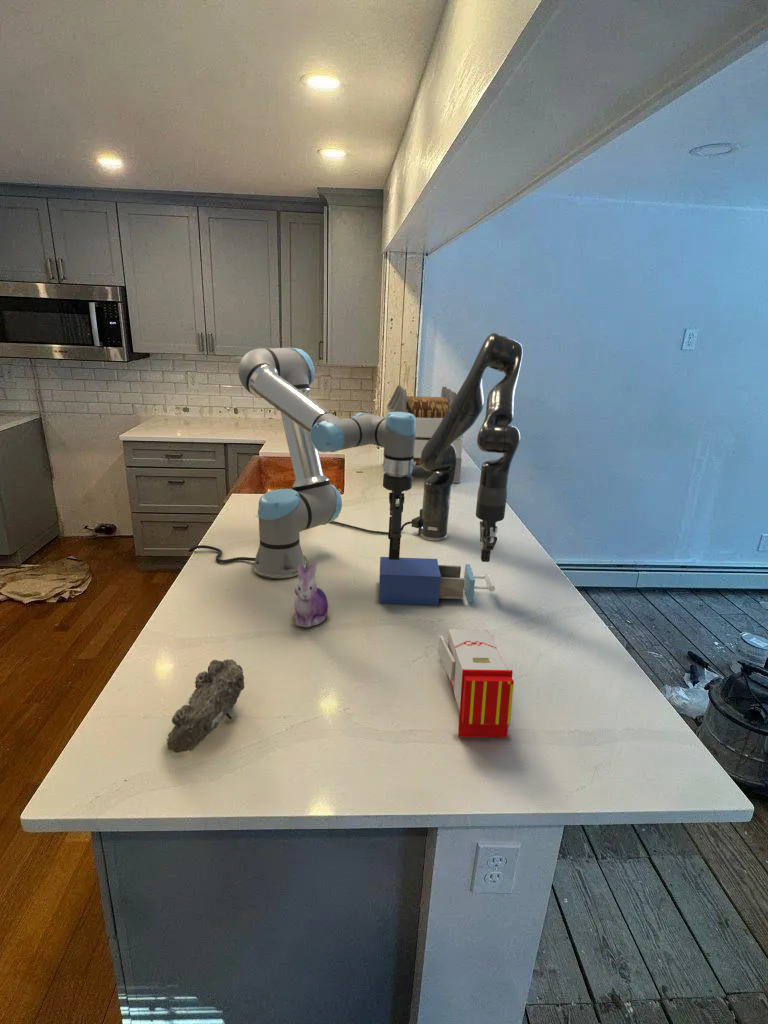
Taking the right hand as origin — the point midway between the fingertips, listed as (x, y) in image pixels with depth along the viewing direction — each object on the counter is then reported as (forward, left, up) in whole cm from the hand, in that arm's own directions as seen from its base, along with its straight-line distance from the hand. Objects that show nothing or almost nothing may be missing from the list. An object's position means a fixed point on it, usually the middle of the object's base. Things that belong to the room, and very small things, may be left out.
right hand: (484, 560), depth 155 cm
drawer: (-6, -4, -10) cm, 13 cm away
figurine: (-28, -39, -11) cm, 49 cm away
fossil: (-18, -78, -11) cm, 80 cm away
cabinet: (-17, -12, -11) cm, 23 cm away
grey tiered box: (-80, +95, -11) cm, 125 cm away
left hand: (-21, -14, +2) cm, 25 cm away
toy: (+17, -40, -11) cm, 45 cm away
